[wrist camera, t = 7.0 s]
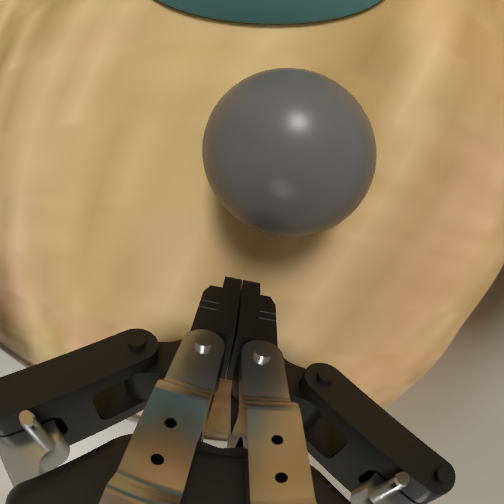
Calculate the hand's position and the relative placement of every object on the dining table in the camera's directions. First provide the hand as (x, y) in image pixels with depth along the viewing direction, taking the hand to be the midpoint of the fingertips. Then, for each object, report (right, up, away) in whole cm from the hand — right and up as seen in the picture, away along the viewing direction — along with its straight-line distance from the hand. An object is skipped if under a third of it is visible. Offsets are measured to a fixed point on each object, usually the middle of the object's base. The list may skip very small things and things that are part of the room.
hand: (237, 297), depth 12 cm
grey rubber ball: (+2, +5, -4) cm, 6 cm away
